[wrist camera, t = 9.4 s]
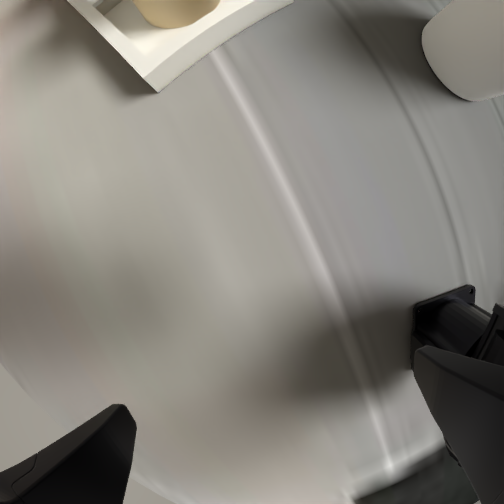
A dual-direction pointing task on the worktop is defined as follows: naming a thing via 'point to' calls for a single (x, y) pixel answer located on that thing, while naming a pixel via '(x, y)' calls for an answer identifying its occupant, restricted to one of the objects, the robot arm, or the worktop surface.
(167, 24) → the beige tall cylinder
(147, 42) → the white rectangular tray
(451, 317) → the robot arm
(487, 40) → the pill bottle
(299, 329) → the worktop surface
